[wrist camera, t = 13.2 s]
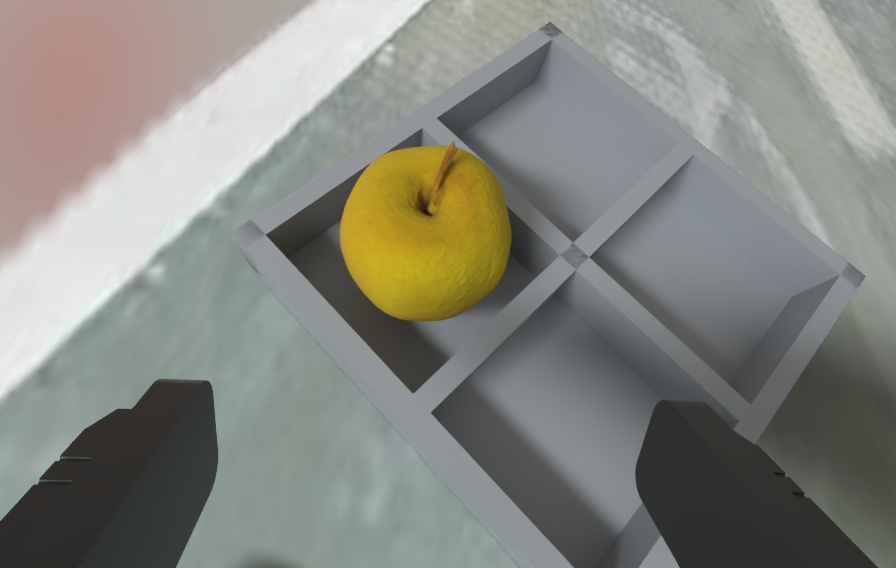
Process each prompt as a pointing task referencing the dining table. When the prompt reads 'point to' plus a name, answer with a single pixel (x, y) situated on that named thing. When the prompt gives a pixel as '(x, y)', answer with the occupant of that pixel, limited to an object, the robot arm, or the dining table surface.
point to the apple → (426, 232)
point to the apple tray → (567, 302)
